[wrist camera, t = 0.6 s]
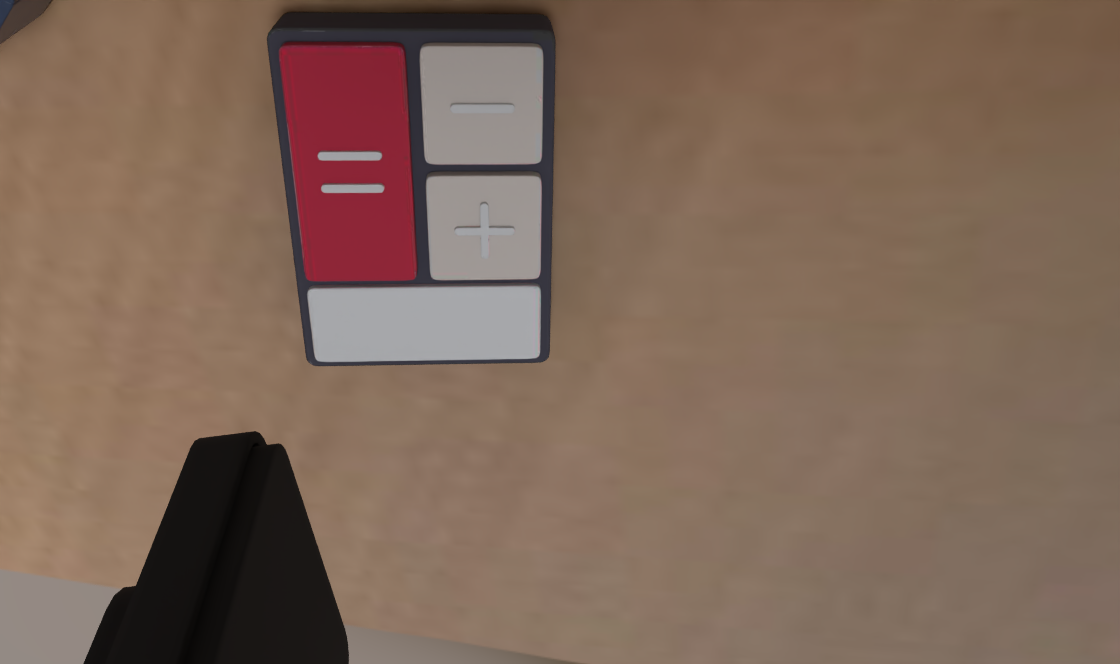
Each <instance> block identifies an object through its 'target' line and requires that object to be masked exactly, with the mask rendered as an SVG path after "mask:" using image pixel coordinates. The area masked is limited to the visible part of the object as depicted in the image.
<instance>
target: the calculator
mask: <svg viewBox="0 0 1120 664" xmlns="http://www.w3.org/2000/svg"><path fill="white" fill-rule="evenodd" d="M267 45H268V53H269V61H270V69H271V77H272V85H273V93H274V101H275V109H276V117H277V126H278V134H279V142H280V150H281V158H282V166H283V174H284V182H285V190H286V198H287V206H288V215H289V223H290V231H291V239H292V247H293V255H294V263H295V271H296V279H297V287H298V295H299V304H300V312H301V320H302V328H303V336H304V344H305V352H306V358H307V360H308V362H309V363H310V364H312V365H314V366H360V365H423V364H486V363H538V362H543V361H545V360H547V358H548V357H549V352H550V309H551V257H552V204H553V151H554V98H555V36H554V32H553V28H552V25H551V22H550V20H549V19H548V17H546V16H544V15H540V14H438V13H309V12H292V13H286V14H284V15H283V16H282V17H281V18H280V19H279V20H278V22H277V23H276V24H275V25H274V26H273V28H272V29H271V30H270V32H269V33H268V36H267Z"/></svg>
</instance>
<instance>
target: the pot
mask: <svg viewBox="0 0 1120 664" xmlns="http://www.w3.org/2000/svg"><path fill="white" fill-rule="evenodd" d="M51 1H52V0H0V44H1V43H3V42H4V41H5V40H7V39H8V38H10V37H11V36H12V35H14V34H15V33H17V32H18V31H19V30H21V29H22V28H23V27H25V26H26V25H28V24H29V23H30V22H32V21H33V20H35V19H36V18H37V17H39V16H40V15H41V14H42V13H43V12H44V11H45V9H46V8H47V6H48V4H49V3H50V2H51Z"/></svg>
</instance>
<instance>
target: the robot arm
mask: <svg viewBox="0 0 1120 664" xmlns="http://www.w3.org/2000/svg"><path fill="white" fill-rule="evenodd" d="M84 664H349V652H348V642H347V636H346V632H345V628H344V625H343V622H342V619H341V616H340V613H339V610H338V607H337V604H336V601H335V597H334V594H333V591H332V588H331V585H330V582H329V579H328V576H327V573H326V570H325V567H324V564H323V561H322V558H321V555H320V552H319V549H318V546H317V543H316V540H315V537H314V534H313V531H312V528H311V525H310V522H309V519H308V516H307V512H306V509H305V506H304V503H303V500H302V497H301V494H300V491H299V488H298V485H297V482H296V479H295V476H294V473H293V470H292V467H291V464H290V461H289V458H288V455H287V453H286V450H285V448H284V447H283V446H282V445H281V444H271V445H267V444H266V442H265V440H264V438H263V437H262V435H261V434H260V433H258V432H256V431H254V432H246V433H238V434H230V435H222V436H214V437H206V438H199V439H197V440H196V441H194V443H193V445H192V446H191V448H190V451H189V453H188V456H187V458H186V461H185V463H184V466H183V468H182V471H181V473H180V476H179V478H178V481H177V483H176V486H175V488H174V491H173V494H172V496H171V499H170V501H169V504H168V506H167V509H166V511H165V514H164V516H163V519H162V521H161V524H160V526H159V529H158V531H157V534H156V536H155V539H154V542H153V544H152V547H151V549H150V552H149V554H148V557H147V559H146V562H145V564H144V567H143V569H142V572H141V574H140V577H139V579H138V582H137V584H136V586H132V587H124V588H123V589H121V590H120V591H119V592H118V593H117V594H115V595H114V597H113V599H112V600H111V602H110V604H109V606H108V607H107V609H106V611H105V614H104V616H103V618H102V621H101V623H100V626H99V628H98V630H97V633H96V635H95V637H94V640H93V642H92V645H91V647H90V650H89V652H88V654H87V657H86V659H85V661H84Z"/></svg>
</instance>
